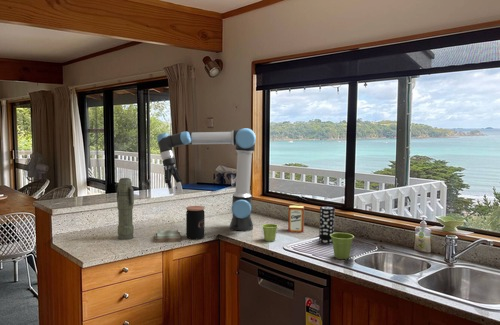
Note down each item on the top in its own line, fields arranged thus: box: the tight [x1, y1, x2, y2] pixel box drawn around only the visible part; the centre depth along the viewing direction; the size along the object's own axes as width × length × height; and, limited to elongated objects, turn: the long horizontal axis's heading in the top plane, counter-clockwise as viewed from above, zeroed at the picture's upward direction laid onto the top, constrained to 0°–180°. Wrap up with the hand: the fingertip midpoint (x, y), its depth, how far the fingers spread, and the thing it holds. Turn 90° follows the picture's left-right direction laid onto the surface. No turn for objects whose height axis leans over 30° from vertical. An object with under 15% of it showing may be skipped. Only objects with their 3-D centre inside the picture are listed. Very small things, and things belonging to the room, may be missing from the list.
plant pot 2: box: [330, 232, 355, 260], centre depth 208 cm, size 12×12×11 cm
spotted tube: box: [318, 206, 336, 245], centre depth 235 cm, size 8×8×20 cm
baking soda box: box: [287, 205, 305, 233], centre depth 260 cm, size 10×6×16 cm
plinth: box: [154, 229, 181, 244], centre depth 239 cm, size 14×14×4 cm
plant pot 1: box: [261, 223, 279, 242], centre depth 239 cm, size 9×9×9 cm
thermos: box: [116, 177, 135, 241], centre depth 239 cm, size 9×12×35 cm
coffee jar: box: [185, 205, 206, 241], centre depth 242 cm, size 11×11×18 cm
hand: (176, 193), depth 245 cm, fingers open, 13 cm apart
